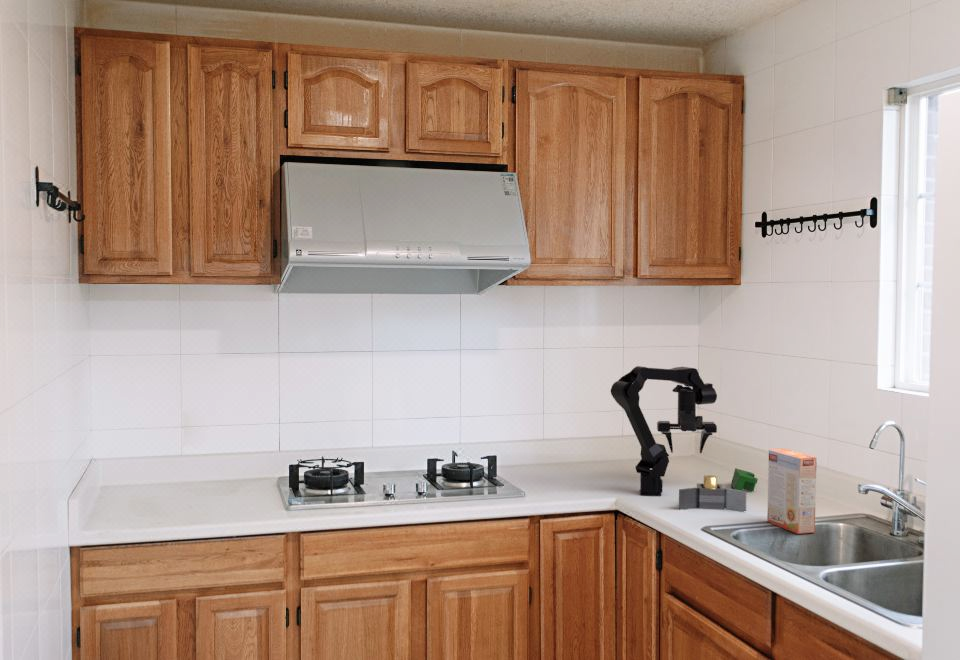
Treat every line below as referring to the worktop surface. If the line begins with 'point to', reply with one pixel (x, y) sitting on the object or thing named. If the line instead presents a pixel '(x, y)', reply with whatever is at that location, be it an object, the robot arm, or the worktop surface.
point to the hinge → (712, 498)
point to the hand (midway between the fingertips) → (686, 452)
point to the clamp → (743, 480)
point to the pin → (710, 481)
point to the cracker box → (792, 490)
